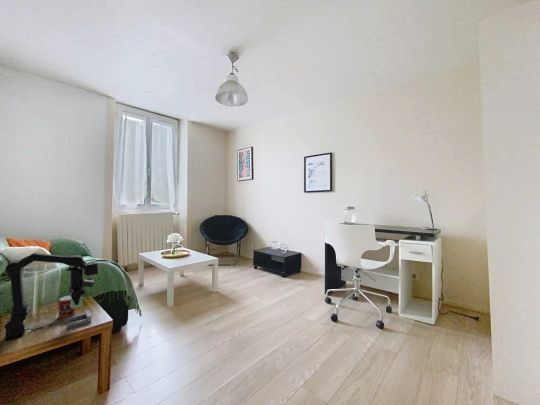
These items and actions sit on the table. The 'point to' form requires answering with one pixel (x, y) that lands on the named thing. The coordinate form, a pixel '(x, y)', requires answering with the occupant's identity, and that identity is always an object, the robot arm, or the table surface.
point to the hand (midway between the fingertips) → (76, 303)
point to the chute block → (74, 303)
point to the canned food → (65, 307)
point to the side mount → (78, 317)
